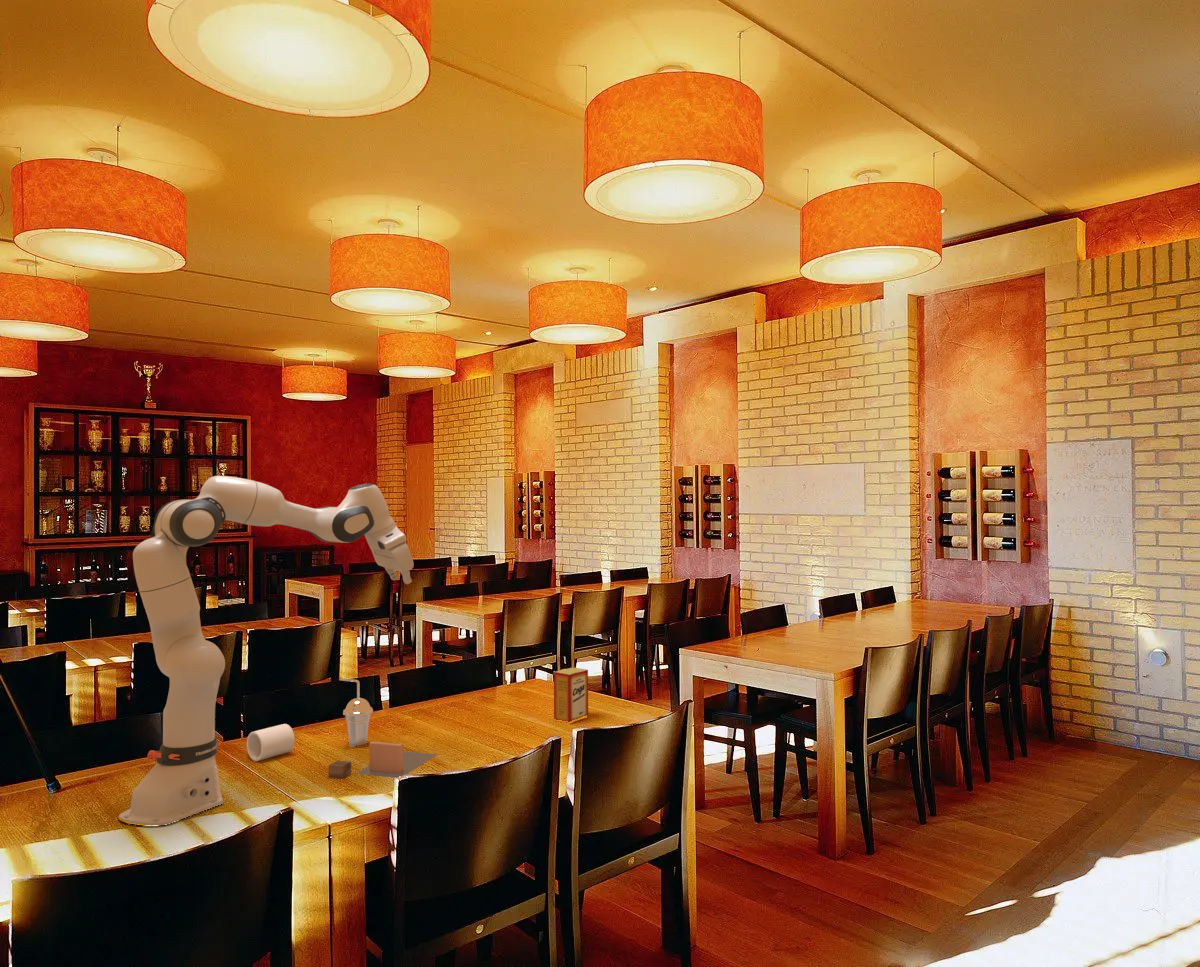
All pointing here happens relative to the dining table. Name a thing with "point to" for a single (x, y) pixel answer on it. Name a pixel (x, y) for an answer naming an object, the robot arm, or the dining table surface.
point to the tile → (386, 757)
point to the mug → (270, 742)
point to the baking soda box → (570, 694)
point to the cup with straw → (357, 717)
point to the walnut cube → (340, 769)
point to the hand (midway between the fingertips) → (401, 581)
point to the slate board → (409, 763)
